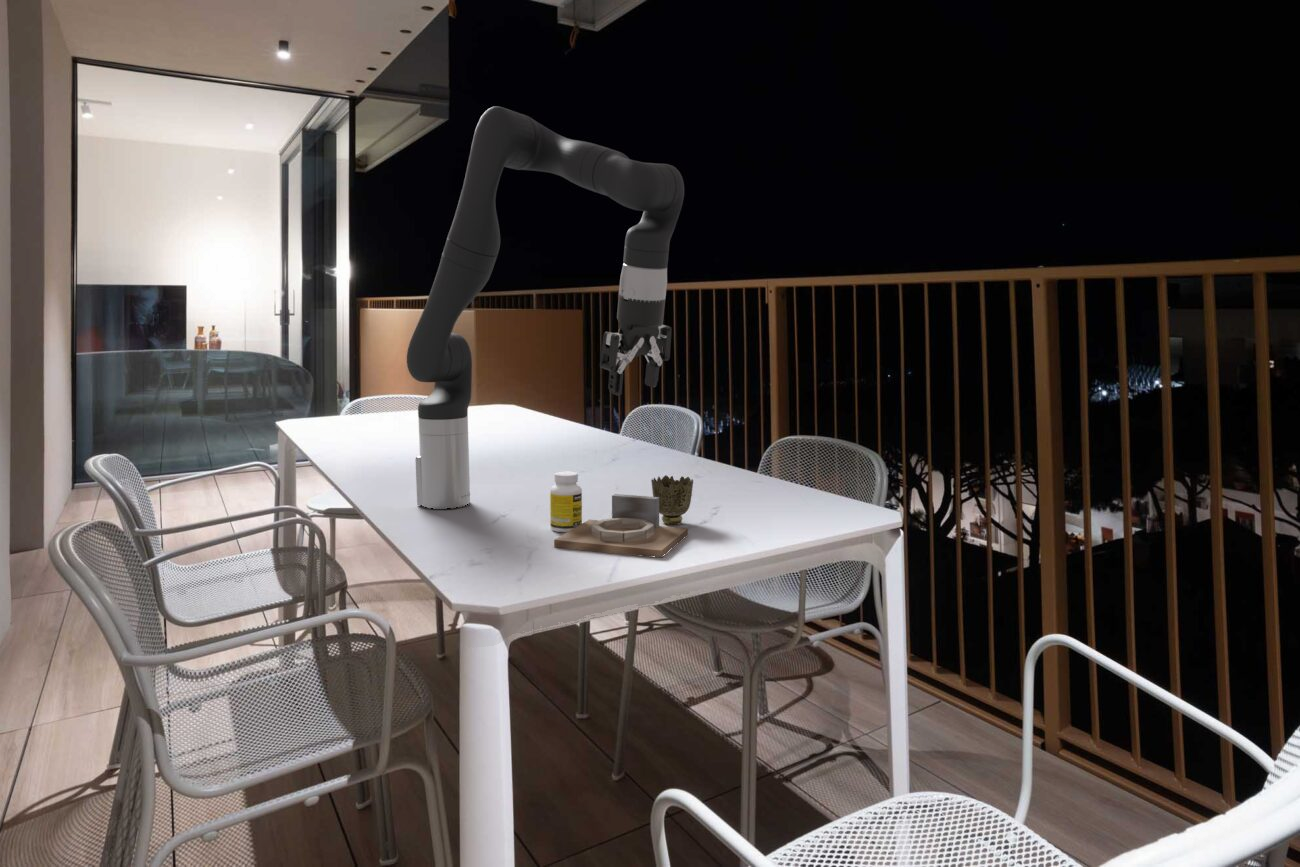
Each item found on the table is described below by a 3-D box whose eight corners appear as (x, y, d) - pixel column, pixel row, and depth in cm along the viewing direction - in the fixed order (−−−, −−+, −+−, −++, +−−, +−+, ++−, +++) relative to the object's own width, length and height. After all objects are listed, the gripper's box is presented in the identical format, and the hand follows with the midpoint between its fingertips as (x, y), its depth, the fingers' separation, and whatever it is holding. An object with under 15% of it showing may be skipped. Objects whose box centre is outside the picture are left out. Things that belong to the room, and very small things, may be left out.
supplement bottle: (577, 533, 138) (576, 476, 136) (546, 532, 139) (545, 475, 137) (585, 526, 143) (585, 471, 142) (556, 524, 144) (555, 469, 143)
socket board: (554, 547, 130) (553, 509, 129) (589, 526, 143) (589, 491, 142) (661, 558, 124) (661, 518, 123) (687, 535, 137) (688, 499, 136)
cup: (698, 520, 147) (698, 476, 146) (686, 530, 140) (686, 484, 139) (658, 516, 150) (659, 473, 149) (645, 526, 143) (645, 481, 142)
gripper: (655, 286, 138) (645, 378, 144) (594, 292, 128) (586, 390, 133) (688, 295, 133) (677, 389, 139) (628, 301, 123) (618, 403, 129)
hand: (633, 389), depth 136 cm, fingers open, 8 cm apart
